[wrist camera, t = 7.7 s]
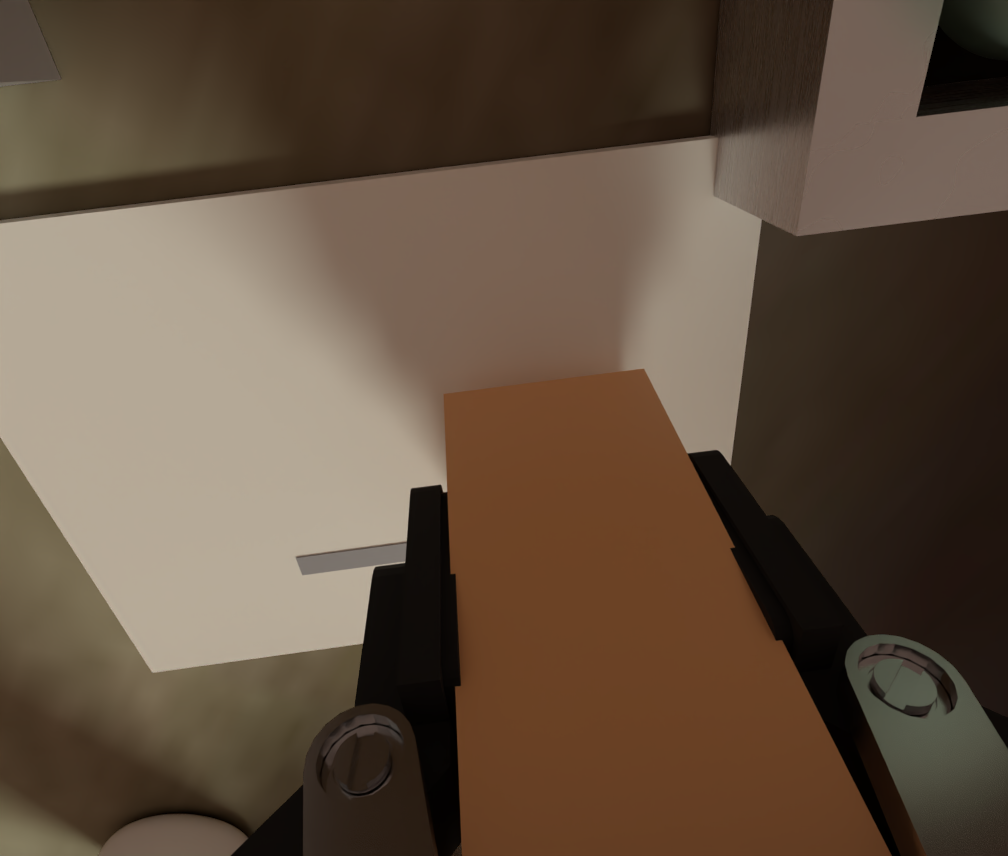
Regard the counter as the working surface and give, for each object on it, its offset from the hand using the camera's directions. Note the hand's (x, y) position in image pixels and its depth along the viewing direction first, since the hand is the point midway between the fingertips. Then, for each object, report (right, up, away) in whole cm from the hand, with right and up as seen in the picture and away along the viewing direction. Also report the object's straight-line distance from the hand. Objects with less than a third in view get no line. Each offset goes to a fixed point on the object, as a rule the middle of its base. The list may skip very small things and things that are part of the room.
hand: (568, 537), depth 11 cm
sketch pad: (-4, +1, +3) cm, 5 cm away
